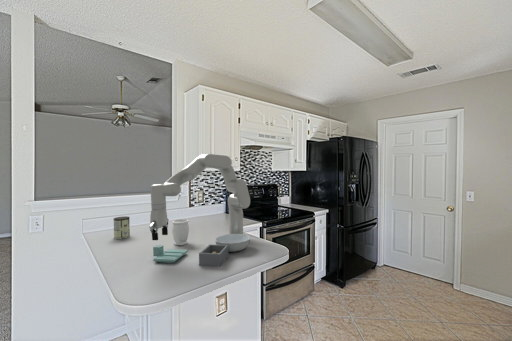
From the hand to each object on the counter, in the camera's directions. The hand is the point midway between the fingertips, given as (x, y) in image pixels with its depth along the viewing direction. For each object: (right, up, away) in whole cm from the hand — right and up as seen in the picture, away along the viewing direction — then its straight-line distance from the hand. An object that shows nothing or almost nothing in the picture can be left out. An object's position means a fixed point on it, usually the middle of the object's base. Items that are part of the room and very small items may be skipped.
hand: (160, 237), depth 135 cm
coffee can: (-45, -12, +43) cm, 64 cm away
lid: (+5, -11, -1) cm, 12 cm away
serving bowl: (+39, -11, +12) cm, 42 cm away
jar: (+4, -11, +25) cm, 28 cm away
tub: (+31, -11, -6) cm, 33 cm away
